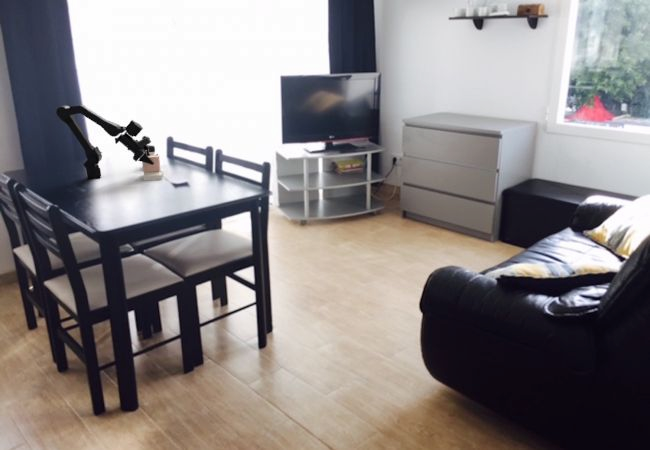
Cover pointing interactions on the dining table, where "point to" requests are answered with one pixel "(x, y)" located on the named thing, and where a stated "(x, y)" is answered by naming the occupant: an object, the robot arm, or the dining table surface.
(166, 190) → the dining table surface
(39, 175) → the dining table surface
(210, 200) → the dining table surface
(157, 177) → the board
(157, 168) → the pink rectangular block
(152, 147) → the medicine bottle
